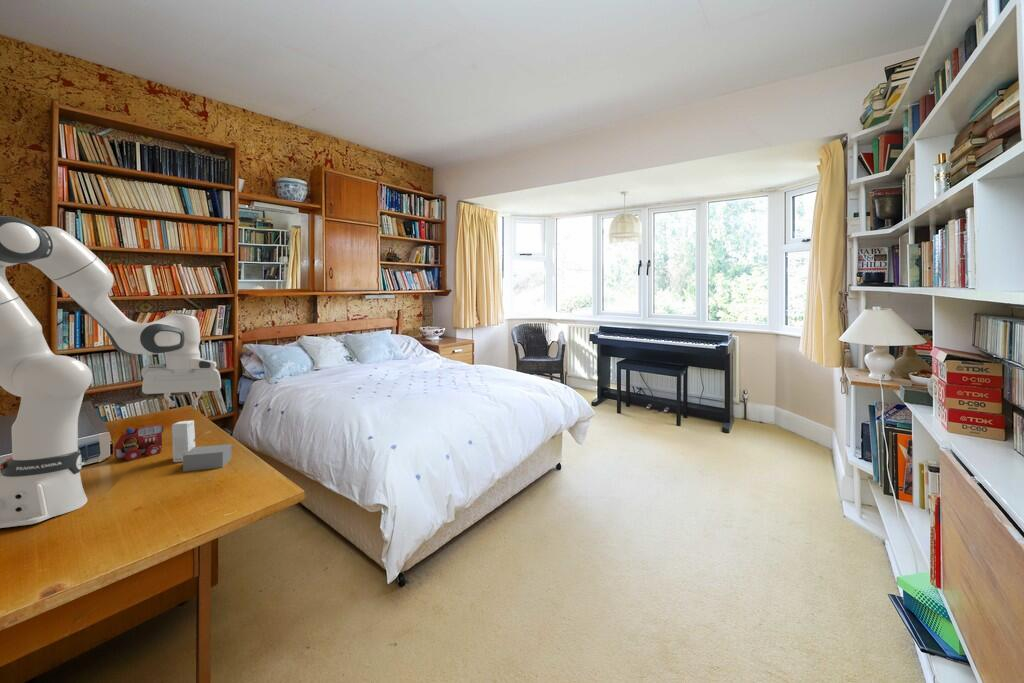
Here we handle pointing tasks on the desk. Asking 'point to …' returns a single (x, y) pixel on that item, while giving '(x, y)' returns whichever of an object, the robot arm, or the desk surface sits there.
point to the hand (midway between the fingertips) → (183, 406)
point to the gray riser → (207, 457)
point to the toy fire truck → (139, 442)
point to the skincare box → (182, 439)
